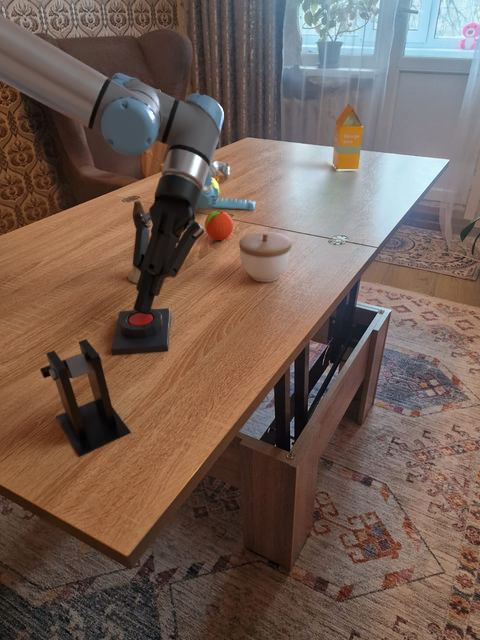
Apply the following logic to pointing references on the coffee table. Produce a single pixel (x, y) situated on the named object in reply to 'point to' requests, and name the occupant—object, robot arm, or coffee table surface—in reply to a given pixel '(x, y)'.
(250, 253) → the trinket box
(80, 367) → the press lever
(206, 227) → the clementine
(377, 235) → the coffee table surface
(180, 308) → the coffee table surface
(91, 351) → the lever bracket
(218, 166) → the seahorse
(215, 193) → the blue toy plane
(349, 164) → the orange juice
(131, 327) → the control block
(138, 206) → the hand bell
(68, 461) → the coffee table surface
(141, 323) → the button
